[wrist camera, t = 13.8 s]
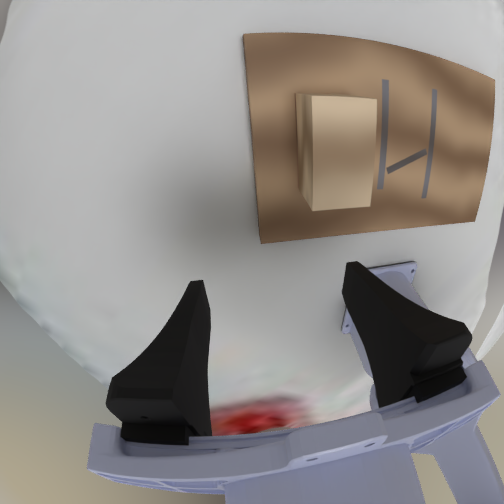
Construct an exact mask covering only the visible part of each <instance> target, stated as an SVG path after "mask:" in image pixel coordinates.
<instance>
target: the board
mask: <svg viewBox="0 0 504 504" xmlns="http://www.w3.org/2000/svg"><path fill="white" fill-rule="evenodd" d="M243 45H244V56H245V67H246V78H247V89H248V101H249V112H250V124H251V135H252V147H253V159H254V172H255V184H256V197H257V209H258V222H259V235H260V241H261V244H265V243H274V242H283V241H292V240H301V239H310V238H319V237H328V236H338V235H347V234H356V233H366V232H375V231H385V230H395V229H404V228H414V227H424V226H434V225H444V224H454V223H465V222H475V219H476V215H477V212H478V208H479V204H480V200H481V196H482V192H483V187H484V182H485V178H486V172H487V167H488V161H489V155H490V148H491V140H492V131H493V120H494V104H495V80H494V79H492V78H490V77H488V76H486V75H483V74H481V73H479V72H477V71H474V70H472V69H469V68H467V67H464V66H462V65H459V64H456V63H454V62H451V61H448V60H445V59H442V58H439V57H436V56H433V55H430V54H426V53H423V52H420V51H416V50H412V49H408V48H404V47H400V46H396V45H391V44H387V43H382V42H377V41H371V40H365V39H359V38H352V37H344V36H335V35H325V34H310V33H250V34H244V35H243ZM295 93H331V94H350V95H356V96H362V97H368V98H373V99H377V124H376V147H375V162H374V174H373V185H372V195H371V203H370V207H357V208H344V209H332V210H320V211H312V210H311V208H310V206H309V205H308V203H307V201H306V200H305V198H304V197H303V195H302V194H301V192H300V190H299V189H298V173H297V136H296V112H295Z"/></svg>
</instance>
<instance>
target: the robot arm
mask: <svg viewBox="0 0 504 504" xmlns="http://www.w3.org/2000/svg"><path fill="white" fill-rule="evenodd" d="M416 269H417V264H416V263H415V262H410V263H404V264H398V265H392V266H385V267H379V268H373V269H367V268H366V267H364V266H363V265H362V264H361V263H359V262H358V261H355V262H348V263H346V270H345V277H344V283H343V289H342V295H343V298H344V301H345V304H346V312H345V316H344V321H343V325H342V330H341V331H342V333H343V334H346V333H350V334H351V336H352V339H353V341H354V344H355V346H356V349H357V351H358V354H359V357H360V359H361V362H362V364H363V367H364V369H365V371H366V372H367V374H368V375H369V376H371V377H372V378H373V380H374V384H373V385H372V387H371V391H370V406H371V409H372V411H368V412H365V413H361V414H358V415H354V416H350V417H346V418H342V419H338V420H334V421H330V422H325V423H320V424H315V425H310V426H305V427H299V428H293V429H287V430H281V431H272V432H264V433H255V434H244V435H230V436H212V430H211V420H210V409H209V394H208V355H209V343H210V331H211V316H210V307H209V303H208V299H207V295H206V291H205V287H204V282H203V280H198V281H191V282H190V283H189V284H188V287H187V289H186V291H185V293H184V294H183V296H182V298H181V300H180V302H179V304H178V305H177V307H176V309H175V311H174V312H173V314H172V315H171V317H170V319H169V320H168V322H167V323H166V325H165V326H164V327H163V329H162V330H161V332H160V333H159V334H158V335H157V337H156V338H155V339H154V340H153V341H152V343H151V344H150V345H149V346H148V347H147V348H146V349H145V350H144V351H143V352H142V353H141V354H140V355H139V356H138V357H137V358H136V359H135V360H134V361H133V362H132V363H131V364H129V365H128V366H127V367H126V368H124V369H123V370H122V371H120V372H119V373H118V374H116V375H115V376H114V377H112V380H111V383H110V386H109V390H108V395H107V399H106V406H107V408H108V409H109V410H110V412H112V413H113V414H114V415H115V416H116V417H117V418H118V419H119V420H121V421H122V428H120V427H117V426H112V425H106V424H99V423H95V424H94V427H93V432H92V438H91V444H90V450H89V457H88V464H87V469H88V470H89V471H91V472H93V473H95V474H97V475H100V476H103V477H105V478H107V479H109V480H112V481H114V482H119V483H123V484H129V485H134V486H140V487H146V488H153V489H160V490H168V491H177V492H187V493H202V494H225V501H226V504H425V500H424V496H423V493H422V489H421V486H420V482H419V479H418V476H417V472H416V469H415V466H414V462H413V459H412V456H411V453H420V454H430V455H433V456H434V457H435V459H436V461H437V463H438V465H439V467H440V469H441V471H442V473H443V475H444V477H445V479H446V481H447V483H448V485H449V487H450V489H451V491H452V493H453V495H454V497H455V499H456V501H457V503H458V504H504V485H503V483H502V480H501V477H500V475H499V472H498V470H497V467H496V465H495V462H494V460H493V458H492V455H491V453H490V451H489V449H488V447H487V445H486V442H485V440H484V438H483V436H482V434H481V432H480V430H479V428H478V426H477V423H478V421H479V419H480V416H481V414H482V413H483V411H484V410H486V409H487V408H488V407H489V406H490V405H491V404H492V403H493V402H494V401H495V400H497V399H498V398H499V397H500V395H501V394H500V392H499V390H498V388H497V386H496V385H495V383H494V381H493V379H492V377H491V375H490V373H489V371H488V370H487V368H486V366H485V364H484V363H483V361H482V360H480V361H477V359H476V358H475V356H474V354H473V353H472V351H471V349H470V348H469V345H470V343H471V341H472V334H471V333H470V331H469V330H468V328H467V327H466V325H465V324H464V323H463V322H459V321H456V320H453V319H449V318H447V317H444V316H441V315H439V314H436V313H434V312H432V311H430V310H429V309H428V308H427V306H426V305H425V303H424V302H423V300H422V299H421V298H420V296H419V295H418V293H417V292H416V290H415V289H414V287H413V286H412V285H411V284H412V281H413V278H414V275H415V272H416Z"/></svg>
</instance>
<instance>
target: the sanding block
mask: <svg viewBox="0 0 504 504" xmlns="http://www.w3.org/2000/svg"><path fill="white" fill-rule="evenodd" d="M295 112H296V136H297V173H298V189H299V190H300V192H301V194H302V195H303V197H304V198H305V200H306V201H307V203H308V205H309V206H310V208H311V210H312V211H320V210H332V209H344V208H357V207H370V203H371V195H372V185H373V174H374V162H375V147H376V124H377V99H373V98H368V97H362V96H356V95H350V94H331V93H295Z"/></svg>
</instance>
